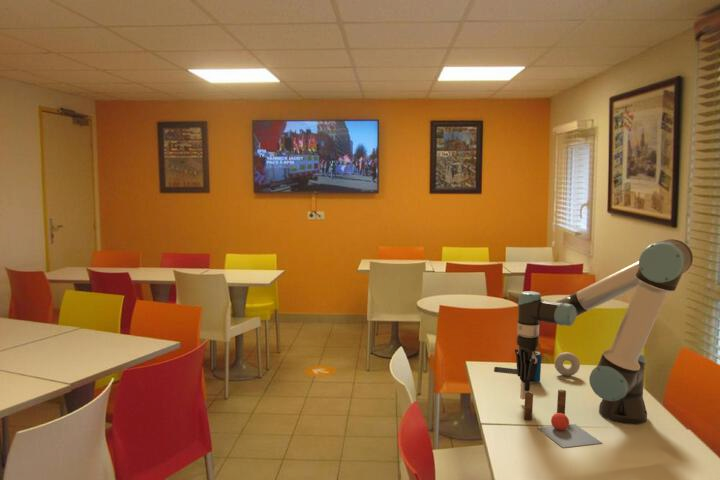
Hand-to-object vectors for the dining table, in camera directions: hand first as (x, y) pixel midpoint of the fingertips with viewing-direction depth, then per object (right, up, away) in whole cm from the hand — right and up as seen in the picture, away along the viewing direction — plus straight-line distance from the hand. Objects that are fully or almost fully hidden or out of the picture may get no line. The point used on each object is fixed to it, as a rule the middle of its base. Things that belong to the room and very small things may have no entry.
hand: (524, 398), depth 209 cm
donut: (+26, +1, +31) cm, 40 cm away
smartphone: (+4, +1, +35) cm, 36 cm away
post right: (+9, -3, -11) cm, 15 cm away
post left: (-3, -3, -14) cm, 15 cm away
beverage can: (+9, 0, +23) cm, 25 cm away
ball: (+5, -2, -22) cm, 22 cm away
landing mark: (+7, -5, -26) cm, 27 cm away
